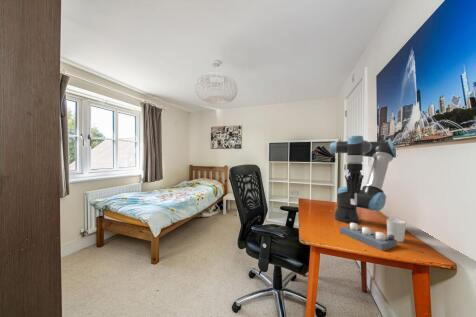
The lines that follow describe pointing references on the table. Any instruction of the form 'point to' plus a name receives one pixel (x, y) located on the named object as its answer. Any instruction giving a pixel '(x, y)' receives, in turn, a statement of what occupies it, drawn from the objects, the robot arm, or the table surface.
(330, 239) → the table surface
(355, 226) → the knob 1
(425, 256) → the table surface
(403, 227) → the white cup
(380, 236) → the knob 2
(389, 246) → the grey egg holder
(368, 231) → the white oval solid
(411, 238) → the table surface
